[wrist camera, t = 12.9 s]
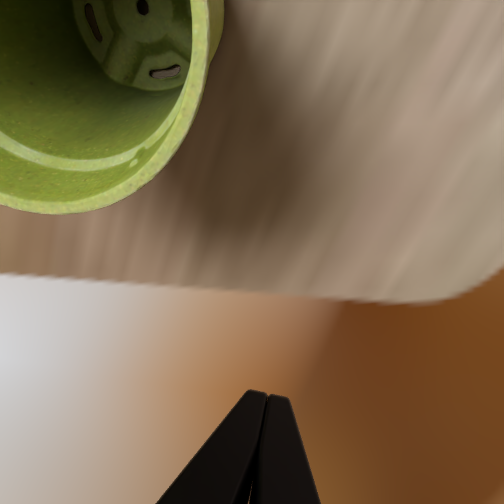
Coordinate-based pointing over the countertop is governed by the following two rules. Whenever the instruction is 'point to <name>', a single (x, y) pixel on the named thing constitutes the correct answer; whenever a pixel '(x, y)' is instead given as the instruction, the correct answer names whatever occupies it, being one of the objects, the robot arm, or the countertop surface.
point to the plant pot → (96, 97)
